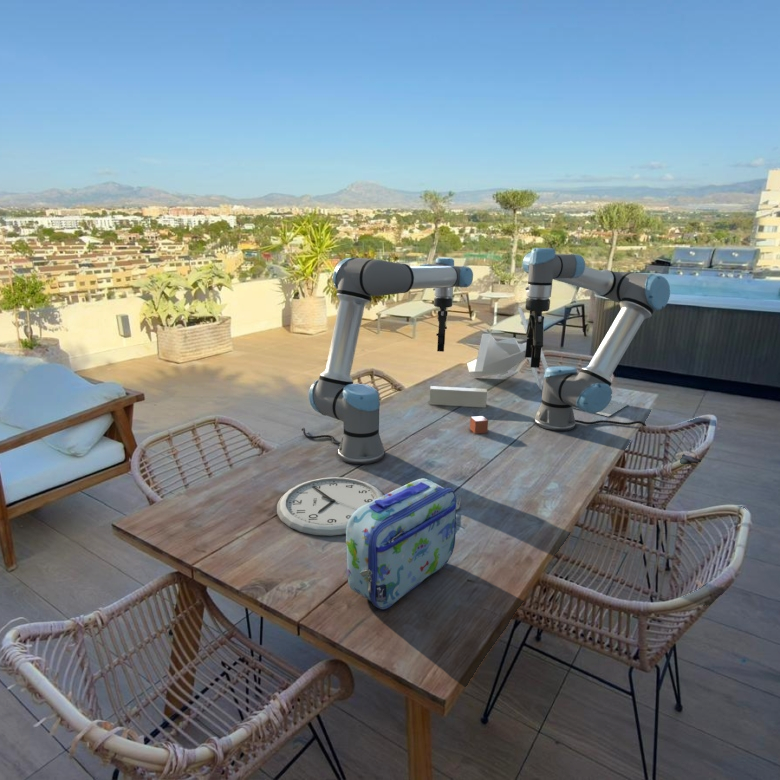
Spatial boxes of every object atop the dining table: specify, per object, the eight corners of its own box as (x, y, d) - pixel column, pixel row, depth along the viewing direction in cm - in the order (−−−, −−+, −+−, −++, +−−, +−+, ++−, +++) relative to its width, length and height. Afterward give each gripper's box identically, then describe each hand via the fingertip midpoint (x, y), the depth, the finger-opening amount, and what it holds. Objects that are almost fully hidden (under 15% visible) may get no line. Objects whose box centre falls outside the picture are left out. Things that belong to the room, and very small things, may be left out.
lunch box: (375, 622, 100) (376, 527, 94) (339, 595, 108) (338, 505, 101) (459, 565, 118) (465, 481, 112) (424, 545, 125) (427, 465, 119)
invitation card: (608, 416, 214) (573, 407, 224) (608, 416, 214) (573, 407, 224) (627, 404, 229) (594, 396, 238) (627, 405, 229) (594, 397, 239)
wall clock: (392, 527, 129) (269, 531, 127) (392, 533, 130) (269, 537, 127) (383, 473, 158) (282, 475, 155) (383, 478, 158) (283, 480, 156)
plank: (485, 404, 227) (486, 388, 225) (485, 407, 223) (487, 391, 221) (430, 401, 230) (430, 385, 228) (429, 404, 225) (430, 388, 223)
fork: (437, 530, 132) (438, 523, 131) (452, 500, 146) (452, 494, 145) (447, 532, 131) (448, 525, 130) (461, 502, 145) (462, 496, 144)
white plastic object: (488, 419, 266) (468, 396, 241) (469, 346, 288) (449, 319, 263) (559, 395, 254) (545, 368, 229) (533, 321, 276) (519, 290, 251)
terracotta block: (482, 428, 200) (482, 415, 198) (487, 432, 195) (488, 420, 194) (469, 429, 199) (470, 416, 197) (474, 433, 194) (475, 421, 193)
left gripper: (435, 292, 226) (433, 341, 232) (433, 300, 202) (430, 354, 208) (452, 293, 225) (450, 341, 231) (452, 301, 201) (449, 354, 208)
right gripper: (521, 292, 180) (516, 353, 186) (531, 302, 156) (525, 371, 162) (544, 293, 179) (537, 354, 185) (557, 303, 155) (549, 372, 162)
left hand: (441, 347), depth 220 cm, fingers open, 13 cm apart
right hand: (531, 362), depth 174 cm, fingers open, 13 cm apart
